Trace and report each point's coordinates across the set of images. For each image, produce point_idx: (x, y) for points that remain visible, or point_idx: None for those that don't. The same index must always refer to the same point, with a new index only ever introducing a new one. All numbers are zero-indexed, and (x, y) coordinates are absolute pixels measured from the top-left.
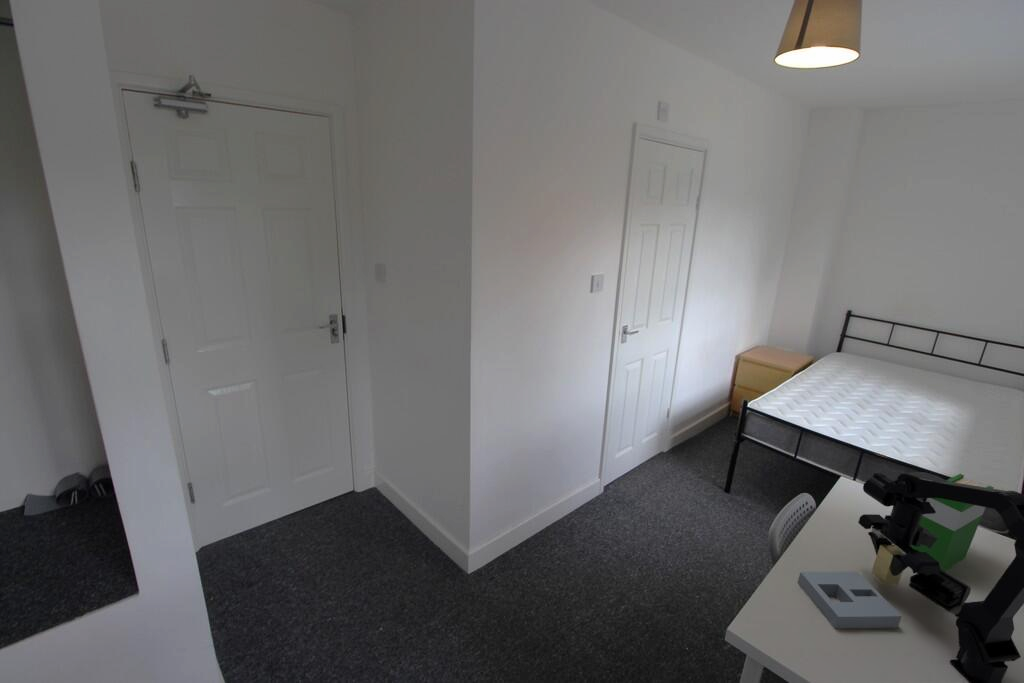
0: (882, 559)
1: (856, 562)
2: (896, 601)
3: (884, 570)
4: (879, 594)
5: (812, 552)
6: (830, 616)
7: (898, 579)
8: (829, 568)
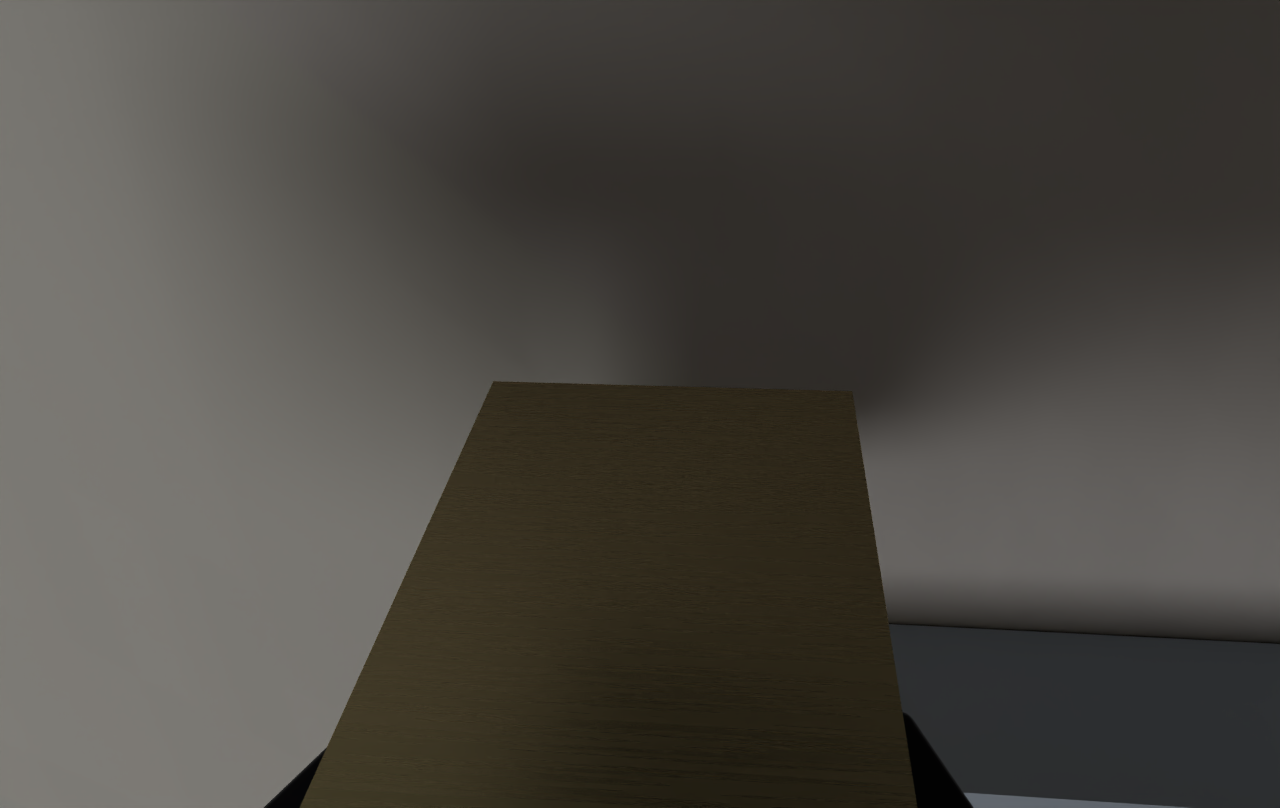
0: None
1: (43, 261)
2: (928, 276)
3: None
4: (996, 806)
5: (28, 715)
6: None
7: (860, 496)
8: (303, 712)
